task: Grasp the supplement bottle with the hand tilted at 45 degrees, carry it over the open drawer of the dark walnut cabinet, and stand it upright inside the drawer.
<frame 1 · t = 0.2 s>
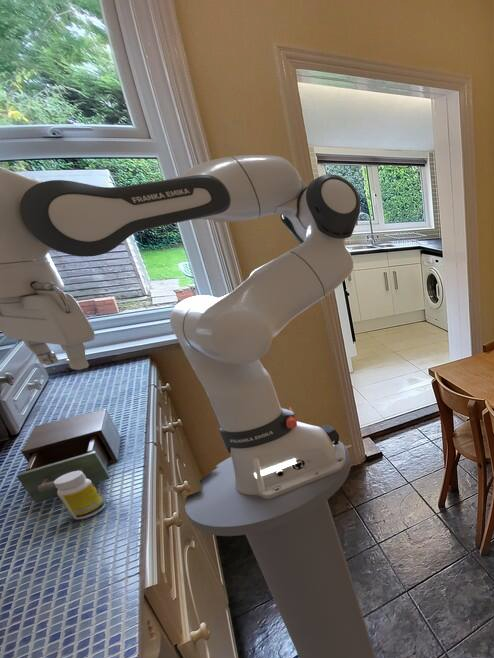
hand: (65, 365, 68), 30 cm above the worktop, tool pointing down, fingers open, 8 cm apart
drawer: (68, 467, 87), point 4 cm above the worktop, slide at 9.0 cm
supplement bottle: (90, 512, 81), on the worktop
cabinet: (85, 458, 98), on the worktop
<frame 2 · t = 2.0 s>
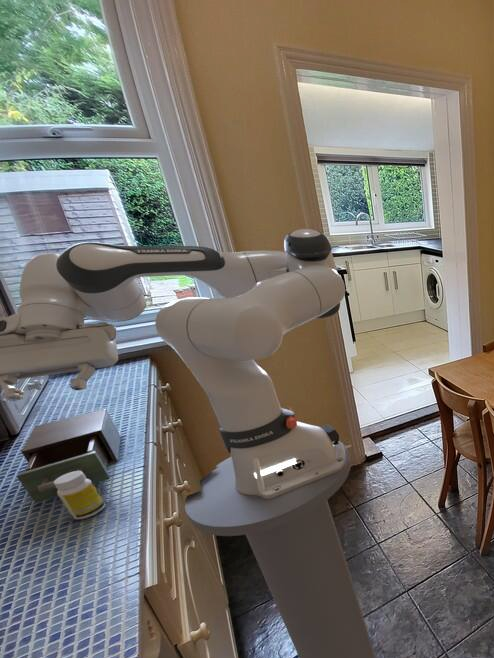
hand: (46, 393, 76), 23 cm above the worktop, tool tilted 45°, fingers open, 8 cm apart
nothing on the worktop moved.
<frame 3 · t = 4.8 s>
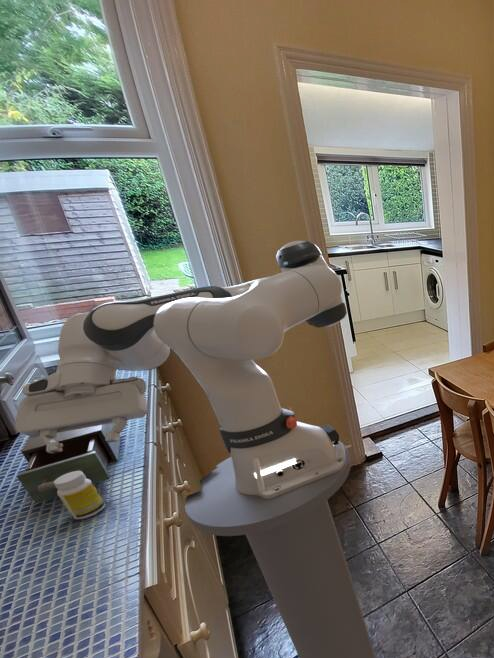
hand: (83, 446, 82), 11 cm above the worktop, tool tilted 45°, fingers open, 8 cm apart
nothing on the worktop moved.
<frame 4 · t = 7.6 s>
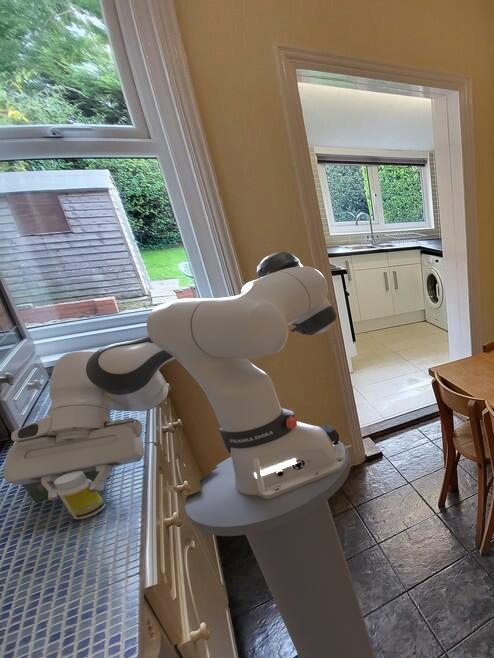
hand: (76, 495, 78), 5 cm above the worktop, tool tilted 45°, fingers closed on supplement bottle, 5 cm apart
supplement bottle: (90, 512, 81), on the worktop, touching gripper
everything else where it was.
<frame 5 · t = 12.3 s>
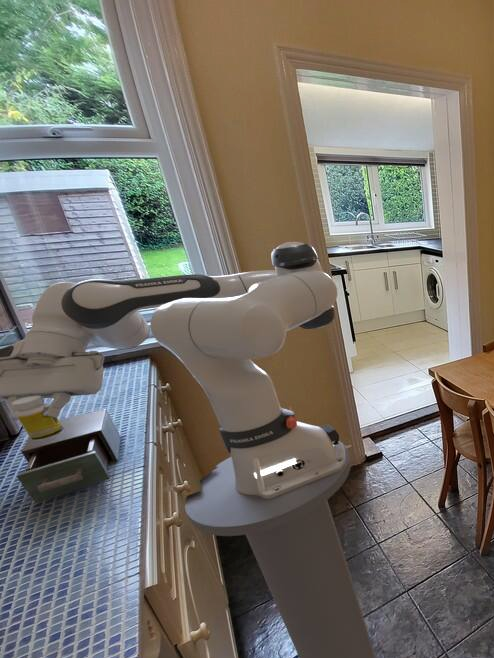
hand: (33, 418, 81), 17 cm above the worktop, tool tilted 45°, fingers closed on supplement bottle, 5 cm apart
supplement bottle: (49, 437, 83), point 13 cm above the worktop, touching gripper
everything else where it was.
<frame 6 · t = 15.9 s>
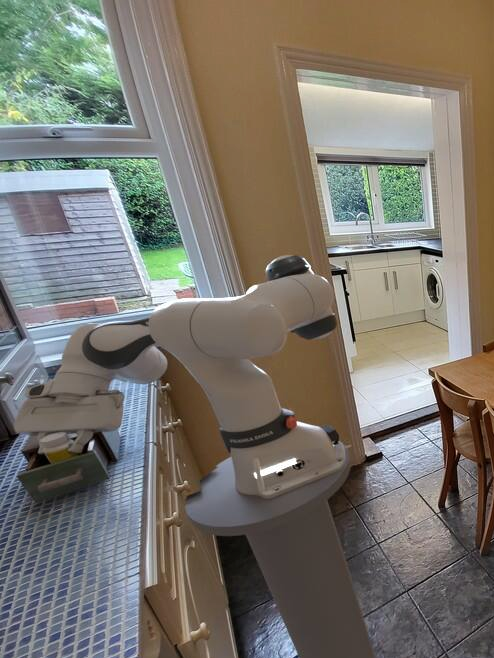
hand: (59, 453, 87), 8 cm above the worktop, tool tilted 45°, fingers closed on supplement bottle, 5 cm apart
supplement bottle: (73, 470, 89), point 3 cm above the worktop, touching gripper
everything else where it was.
when the fingers open (8 cm above the worktop, at t = 17.0 s): supplement bottle stays where it is, resting on drawer.
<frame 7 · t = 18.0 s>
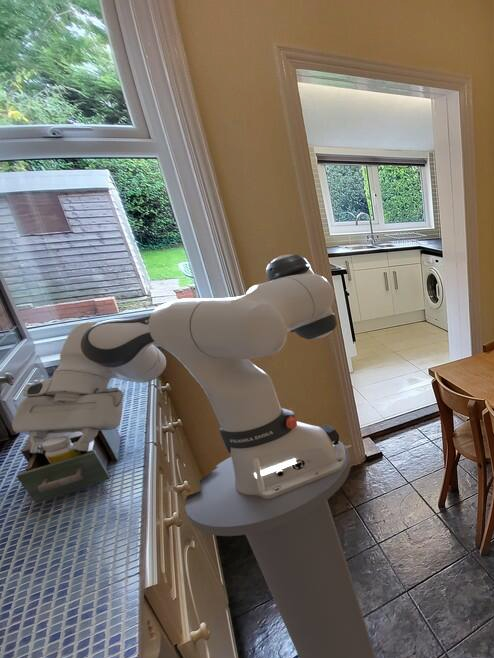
hand: (58, 452, 86), 8 cm above the worktop, tool tilted 45°, fingers open, 7 cm apart
drawer: (68, 467, 87), point 4 cm above the worktop, slide at 9.0 cm, touching gripper, supplement bottle
supplement bottle: (75, 473, 90), point 2 cm above the worktop, touching drawer
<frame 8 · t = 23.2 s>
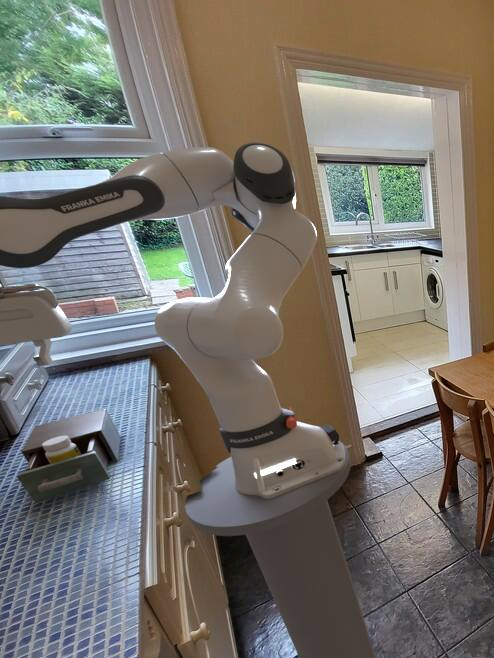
hand: (9, 370, 71), 29 cm above the worktop, tool pointing down, fingers open, 8 cm apart
drawer: (68, 467, 87), point 4 cm above the worktop, slide at 9.0 cm, touching supplement bottle
everything else where it was.
at the end: supplement bottle inside the target area in the drawer (0.0 cm from its centre), point 1.8 cm above the cabinet's base; supplement bottle tilted 0°; the gripper is holding nothing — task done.
